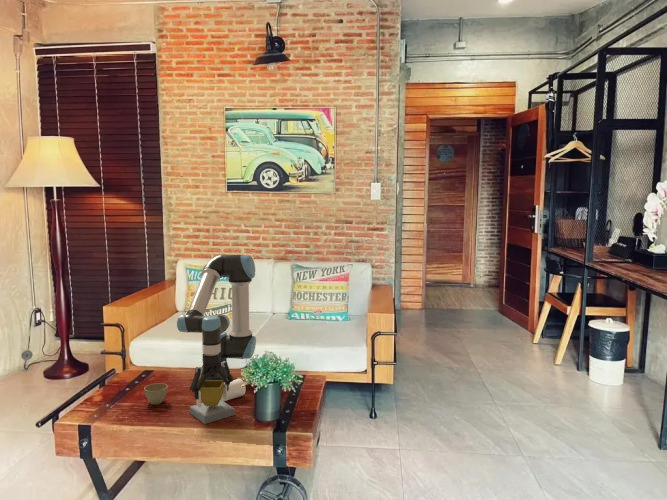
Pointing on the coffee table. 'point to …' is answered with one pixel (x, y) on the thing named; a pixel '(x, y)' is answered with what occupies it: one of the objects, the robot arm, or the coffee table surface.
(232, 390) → the mug
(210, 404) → the flower pot
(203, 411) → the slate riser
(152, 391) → the round planter pot
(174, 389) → the coffee table surface
